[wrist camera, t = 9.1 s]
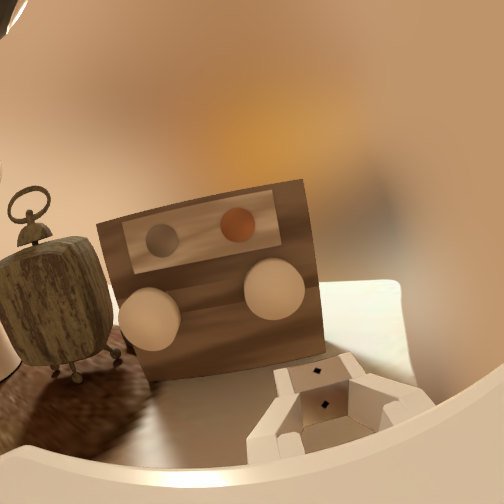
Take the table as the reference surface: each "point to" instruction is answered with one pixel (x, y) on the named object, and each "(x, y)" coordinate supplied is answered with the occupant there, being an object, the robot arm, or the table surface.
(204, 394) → the table surface
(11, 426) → the table surface
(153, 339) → the button
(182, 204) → the button panel
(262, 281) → the button
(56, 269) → the tabletop clock
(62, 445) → the table surface
